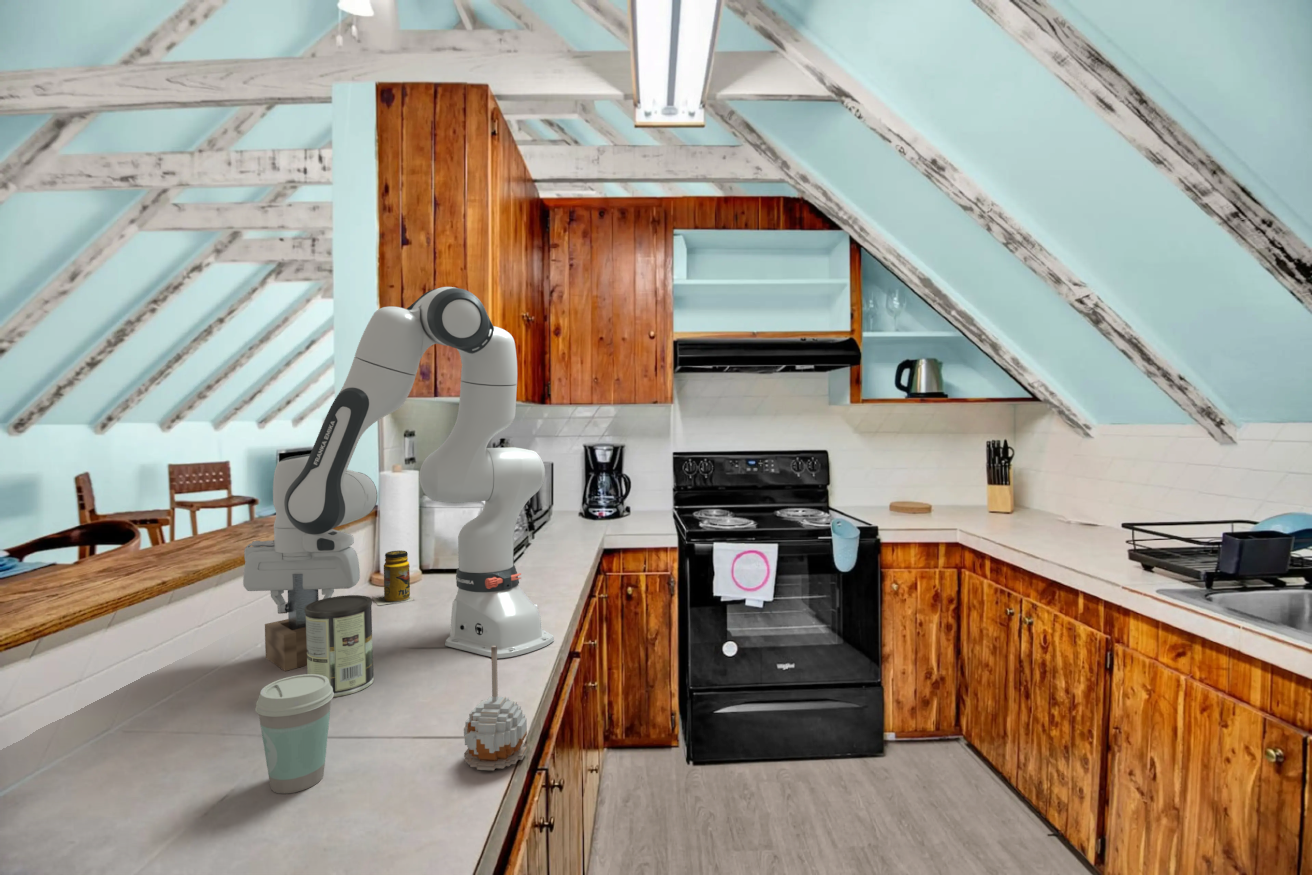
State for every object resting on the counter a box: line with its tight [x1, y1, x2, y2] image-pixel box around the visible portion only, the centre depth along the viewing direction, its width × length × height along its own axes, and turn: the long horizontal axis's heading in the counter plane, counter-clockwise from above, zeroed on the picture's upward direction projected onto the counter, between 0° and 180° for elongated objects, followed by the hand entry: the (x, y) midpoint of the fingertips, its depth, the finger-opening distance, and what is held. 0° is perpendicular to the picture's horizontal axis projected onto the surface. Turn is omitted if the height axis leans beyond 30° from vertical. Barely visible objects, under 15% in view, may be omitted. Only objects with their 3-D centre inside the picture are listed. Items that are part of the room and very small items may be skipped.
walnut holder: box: [264, 618, 307, 672], centre depth 123 cm, size 10×10×6 cm
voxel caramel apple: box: [463, 646, 528, 771], centre depth 86 cm, size 8×8×15 cm
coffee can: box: [305, 594, 375, 698], centre depth 110 cm, size 10×10×14 cm
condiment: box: [372, 550, 415, 606], centre depth 162 cm, size 7×8×12 cm
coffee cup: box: [254, 673, 334, 795], centre depth 81 cm, size 9×9×12 cm
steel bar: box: [287, 574, 320, 630], centre depth 123 cm, size 4×4×15 cm
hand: (303, 612), depth 123 cm, fingers closed on steel bar, 6 cm apart
